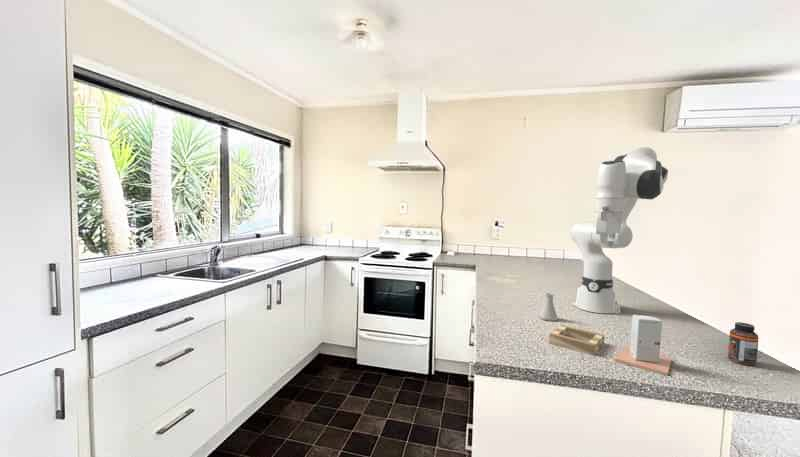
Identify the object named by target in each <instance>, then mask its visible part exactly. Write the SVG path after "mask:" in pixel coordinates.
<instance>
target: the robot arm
mask: <svg viewBox="0 0 800 457" xmlns="http://www.w3.org/2000/svg"><path fill="white" fill-rule="evenodd" d="M668 173H669V170H668V168H666V167H665V166H662V163H661V161H659V160H658V156H657V153H656V151H655V150H653V149H652V148H650V147H645V146H643V147H638V148H636V149H633V150H632V151H630V152H629V153H626V154H624V155H623V154H622V155H619V156H616V157H615V158H614V159H613V160H606V161H603V162H601V163H600V164H599V166H598V170H597V175H596V184H595V185H596V186H595V187H596V195H595V201H594V203H595V204H594V212H595V213H597V214H596V220H595V221H581V222H577V223H575V224H574V225H573V226H572V227H571V229H570V237H571V239H572V241H573V242H574V243H575V244H576V245H577V246H578V248H579V250H580V252H581V256H582V259H583V275H582V276H581V285H580V286H579V287H578V288H577V292H576V293H577V294H576V301H574V302H572V306H574V307H577V308H578V309H581V310H583V311H586V312H591V313H597V314H617V315H620V314H621V306H620V304H619V303H618V301H616V293H615V291H614V289H613V287H614V280H613V267H614V266H613V265H614V264H613V261H612V259H611V258H610V257H609V256H607V255H606V254H605V253H604V251H603V249H606V248H607V249H622V248H623V249H624V248H627V247H628V246H629V245H630V244H631V242H632V241H633V237H634V236H633V231H632V229H631V228H630V227H629V226H628V224H627V220H628V218H629V216H630V214H631V213H632V210H634V208H635V205H636V204H637V202H638V199H639V200H640V199H641V200H654V199H655V198H657V197H659V196H660V195H661V194H662V192H663V190H664V184H665V183H666V182H667V179H668V177H669V174H668Z"/></svg>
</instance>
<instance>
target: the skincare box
mask: <svg viewBox="0 0 800 457" xmlns="http://www.w3.org/2000/svg"><path fill="white" fill-rule="evenodd" d="M662 326H663V321H662V320H661V318H660V319H659V318H658V317H656V316H651V315H650V316H649V315H640V314H632V320H631V332H630V346H629V348H630V355H631V356H632V357H633V358H634V359H635V360H642V361H650V362H659V355H661V354H660V353H661V352H660V351H661V338H662Z"/></svg>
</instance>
